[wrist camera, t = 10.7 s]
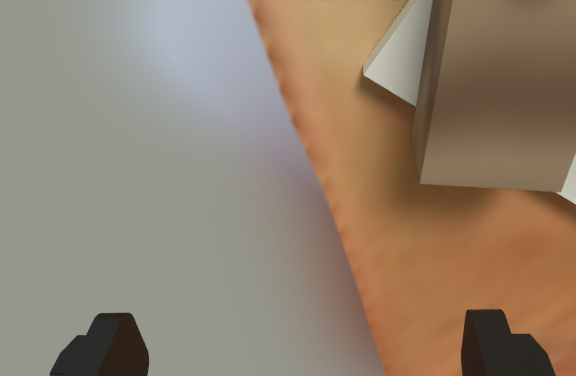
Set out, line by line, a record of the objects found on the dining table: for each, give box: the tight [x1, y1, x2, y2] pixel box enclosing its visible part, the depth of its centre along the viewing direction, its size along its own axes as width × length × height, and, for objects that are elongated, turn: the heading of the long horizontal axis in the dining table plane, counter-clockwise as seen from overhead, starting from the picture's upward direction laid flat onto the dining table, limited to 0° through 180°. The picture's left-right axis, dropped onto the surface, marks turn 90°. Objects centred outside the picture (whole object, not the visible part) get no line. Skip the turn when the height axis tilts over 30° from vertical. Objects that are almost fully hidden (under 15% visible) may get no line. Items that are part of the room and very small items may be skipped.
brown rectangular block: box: [411, 0, 576, 192], centre depth 19 cm, size 13×6×4 cm, turn 0°
